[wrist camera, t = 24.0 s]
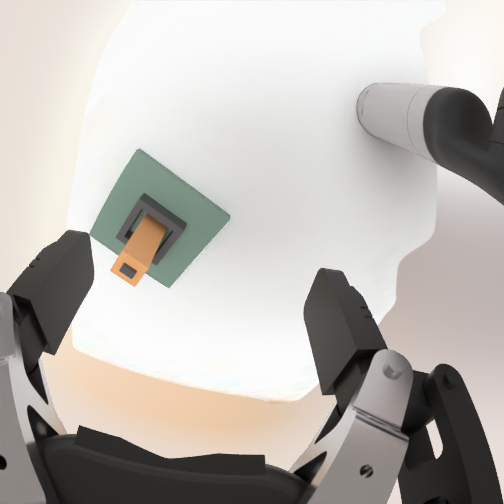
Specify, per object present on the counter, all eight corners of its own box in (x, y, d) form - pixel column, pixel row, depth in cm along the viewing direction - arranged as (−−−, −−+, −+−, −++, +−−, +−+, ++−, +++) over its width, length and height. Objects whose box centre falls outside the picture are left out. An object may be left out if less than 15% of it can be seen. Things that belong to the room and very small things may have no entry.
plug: (168, 224, 43) (147, 271, 32) (156, 241, 44) (133, 289, 33) (148, 210, 41) (120, 253, 30) (136, 228, 43) (108, 273, 32)
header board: (229, 215, 44) (229, 226, 41) (170, 283, 51) (166, 297, 47) (139, 148, 37) (130, 154, 34) (92, 230, 44) (82, 241, 40)
